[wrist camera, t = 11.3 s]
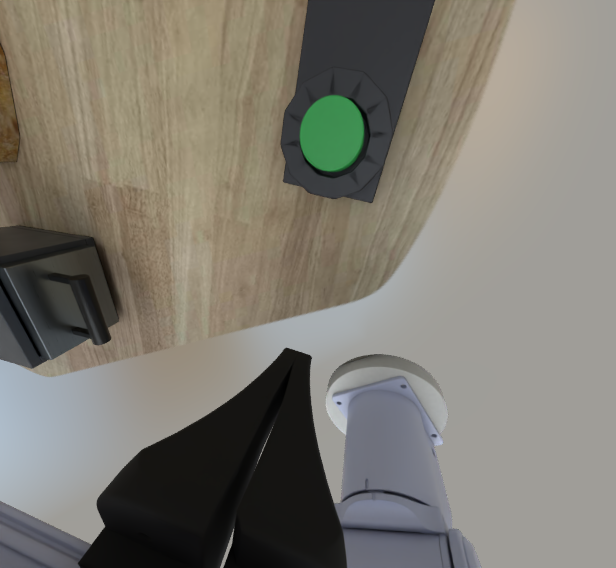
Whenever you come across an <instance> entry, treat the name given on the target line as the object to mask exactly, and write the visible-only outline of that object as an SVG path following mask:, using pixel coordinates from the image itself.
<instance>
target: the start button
mask: <svg viewBox="0 0 616 568" xmlns="http://www.w3.org/2000/svg"><path fill="white" fill-rule="evenodd" d="M363 143H364V123H363V119H362V116H361V113H360V111H359V109H358V108H357V106H356V105H355V104H354V103H353V102H352V101H351V100H349V99H348V98H346V97H343V96H340V95H329V96H325V97H323V98H321V99H319V100H317V101H316V102H315V103H313V104H312V106H311V107H310V108H309V109H308V110H307V112H306V114H305V115H304V118H303V120H302V123H301V127H300V145H301V149H302V151H303V154H304V156H305V157H306V159H307V160H308V161H309V163H311V164H312V165H313V166H314V167H316V168H318V169H320V170H323V171H327V172H339V171H342V170H344V169H346V168H348V167H349V166H351V165H352V164H353V163H354V162H355V161H356V159H357V158H358V156H359V155H360V153H361V150H362V147H363Z"/></svg>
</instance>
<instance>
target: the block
mask: <svg viewBox="0 0 616 568" xmlns="http://www.w3.org/2000/svg"><path fill="white" fill-rule="evenodd" d="M434 2H435V0H308V6H307V14H306V21H305V28H304V35H303V42H302V49H301V57H300V64H299V71H298V78H297V85H296V92H295V96H294V97H293V99H292V100H291V102H290V104H289V105H288V107H287V108H286V110H285V113H284V120H283V128H282V136H281V148H282V151H283V154H284V158H285V161H286V164H285V171H284V179H283V182H284V183H288V184H293V185H297V186H301V187H303V188H304V189H305V190H306V191H307V192H309V193H310V194H314V195H319V196H323V197H327V198H331V199H337V198H340V197H343V196H344V197H348V198H352V199H356V200H361V201H365V202H369V203H372V202H373V199H374V196H375V193H376V189H377V186H378V183H379V180H380V176H381V173H382V170H383V167H384V164H385V160H386V157H387V154H388V151H389V147H390V144H391V141H392V138H393V135H394V131H395V128H396V125H397V122H398V118H399V115H400V112H401V109H402V106H403V102H404V99H405V96H406V93H407V89H408V86H409V83H410V80H411V76H412V73H413V70H414V67H415V64H416V60H417V57H418V54H419V51H420V47H421V44H422V41H423V38H424V35H425V31H426V28H427V25H428V22H429V18H430V15H431V12H432V9H433V6H434ZM329 95H340V96H343V97H346V98H348V99H349V100H351V101H352V102H353V103H354V104H355V105H356V106H357V108H358V109H359V111H360V113H361V116H362V119H363V123H364V143H363V147H362V150H361V153H360V155H359V156H358V158H357V159H356V161H355V162H354V163H353V164H352V165H351V166H349V167H348V168H346V169H344V170H342V171H339V172H327V171H323V170H320V169H318V168H316V167H314V166H313V165H312V164H311V163H309V161H308V160H307V159H306V157H305V156H304V154H303V151H302V149H301V145H300V127H301V123H302V120H303V118H304V115H305V114H306V112H307V110H308V109H309V108H310V107H311V106H312V104H313V103H315V102H316V101H317V100H319V99H321V98H323V97H325V96H329Z"/></svg>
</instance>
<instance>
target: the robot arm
mask: <svg viewBox="0 0 616 568" xmlns="http://www.w3.org/2000/svg"><path fill="white" fill-rule="evenodd" d="M311 359H312V357H311V356H310V355H308V354H305V353H302V352H298V351H295V350H292V349H289V348H285V349H284V350H283V352H282V353H281V354H280V355H279V356H278V358H277V359H276V360H275V361H274V362H273V363H272V364H271V365H270V366H269V367H268V368H267V369H266V370H265V371H264V372H263V373H262V374H261V375H260V376H259V377H257V378H256V379H255V380H254V381H253V382H252V383H251V384H249V385H248V386H247V387H246V388H245V389H244V390H242V391H241V392H240V393H238V394H237V395H236V396H234V397H233V398H232V399H230V400H229V401H227V402H226V403H225V404H223V405H222V406H220V407H219V408H217V409H216V410H214V411H213V412H211V413H209V414H208V415H206V416H205V417H203V418H201V419H200V420H198V421H196V422H194V423H193V424H191V425H189V426H187V427H186V428H184V429H182V430H181V431H178V432H177V433H175V434H173V435H171V436H169V437H167V438H165V439H163V440H161V441H159V442H157V443H155V444H153V445H151V446H148V447H146V448H144V449H143V450H141V451H140V452H139V453H138V454H137V455H136V456H135V457H134V458H133V459H132V460H131V461H130V462H129V463H128V464H127V465H126V466H125V467H124V468H123V469H122V470H121V471H120V472H119V474H118V475H117V476H116V477H115V478H114V480H113V481H112V482H111V483H110V484H109V485H108V487H107V488H106V489H105V490H104V491H103V493H102V494H101V495H100V496H99V498H98V500H97V509H98V511H99V513H100V516H101V518H102V520H103V522H104V524H105V528H104V529H103V530H102V532H101V533H100V534H99V536H98V537H97V538H96V540H95V541H94V542H93V544H92V545H91V544H89V543H87V542H85V541H83V540H81V539H78V538H76V537H74V536H72V535H70V534H68V533H66V532H64V531H61V530H60V529H58V528H55V527H54V526H51V525H49V524H47V523H45V522H43V521H41V520H39V519H37V518H35V517H33V516H30V515H28V514H26V513H24V512H22V511H20V510H18V509H16V508H14V507H12V506H9V505H7V504H5V503H3V502H1V501H0V568H220V566H221V563H222V560H223V557H224V555H225V552H226V549H227V546H228V543H229V540H230V537H231V535H232V532H233V529H234V534H233V542H232V546H231V548H230V551H229V554H228V557H227V559H226V562H225V565H224V567H223V568H481V565H480V562H479V559H478V556H477V554H476V551H475V549H474V547H473V545H472V544H471V543H470V542H469V541H468V540H467V539H466V538H465V537H463V535H462V533H461V531H460V530H458V529H452V515H451V510H450V506H449V502H448V498H447V494H446V490H445V486H444V482H443V479H442V475H441V471H440V467H439V463H438V459H437V455H436V451H435V447H434V446H437V445H442V444H443V439H442V437H441V435H440V434H439V432H438V430H437V429H436V427H435V425H434V424H433V422H432V421H431V419H430V417H429V416H428V414H427V412H426V411H425V409H424V407H423V406H422V404H421V403H420V401H419V399H418V398H417V396H416V394H415V393H414V391H413V389H412V388H411V386H410V385H409V383H408V381H407V380H406V378H405V377H403V376H397V377H393V378H390V379H386V380H383V381H379V382H375V383H372V384H368V385H365V386H361V387H357V388H354V389H350V390H347V391H343V392H339V393H336V394H333V396H332V400H333V402H334V403H335V404H336V406H337V407H338V408H339V410H340V411H341V413H342V414H343V415H344V417H345V418H346V419H347V427H346V440H345V454H344V467H343V479H342V493H341V503H335V504H334V503H333V499H332V496H331V493H330V489H329V486H328V483H327V479H326V475H325V472H324V468H323V464H322V460H321V457H320V452H319V448H318V443H317V438H316V433H315V427H314V422H313V415H312V406H311V396H310V365H311ZM403 384H404V385H403ZM339 401H340V402H339ZM272 427H273V428H272ZM271 429H272V430H271ZM270 431H271V433H270ZM269 434H270V435H269ZM268 436H269V438H268ZM267 438H268V440H267ZM266 440H267V443H266V445H265V447H264V444H265V442H266ZM263 447H264V450H263V452H262V449H263ZM261 452H262V454H261ZM260 454H261V457H260V459H259V456H260ZM258 459H259V461H258ZM257 462H258V464H257ZM256 465H257V466H256ZM254 470H255V471H254ZM234 526H235V527H234Z"/></svg>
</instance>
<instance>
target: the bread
mask: <svg viewBox="0 0 616 568" xmlns="http://www.w3.org/2000/svg"><path fill="white" fill-rule="evenodd" d="M19 138H20V135H19V130H18V125H17V119H16V114H15V108H14V103H13V98H12V92H11V87H10V81H9V76H8V71H7V65H6V60H5V55H4V53H3V50H2V48H1V45H0V162H17V154H18V146H19Z"/></svg>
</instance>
